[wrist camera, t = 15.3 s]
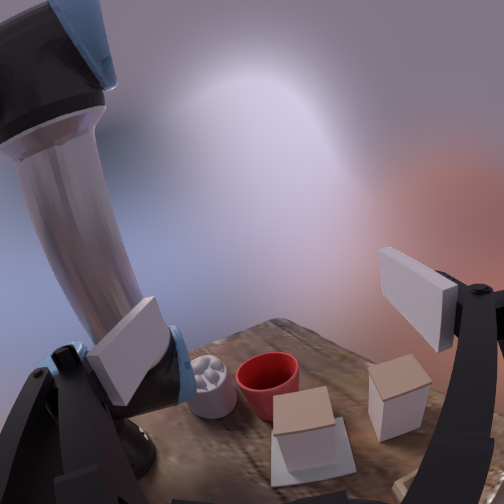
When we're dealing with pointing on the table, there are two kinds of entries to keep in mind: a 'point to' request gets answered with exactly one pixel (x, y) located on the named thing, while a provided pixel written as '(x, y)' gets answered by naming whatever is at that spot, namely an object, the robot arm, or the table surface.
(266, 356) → the flower pot
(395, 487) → the open box
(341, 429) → the felt mat
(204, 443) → the table surface
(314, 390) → the cover canister
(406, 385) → the empty canister
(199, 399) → the lumpy-topped squat cylinder
